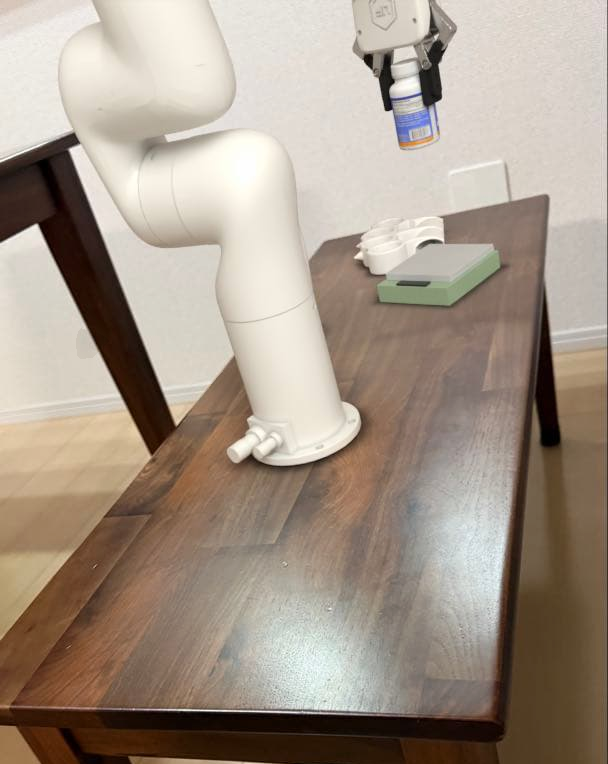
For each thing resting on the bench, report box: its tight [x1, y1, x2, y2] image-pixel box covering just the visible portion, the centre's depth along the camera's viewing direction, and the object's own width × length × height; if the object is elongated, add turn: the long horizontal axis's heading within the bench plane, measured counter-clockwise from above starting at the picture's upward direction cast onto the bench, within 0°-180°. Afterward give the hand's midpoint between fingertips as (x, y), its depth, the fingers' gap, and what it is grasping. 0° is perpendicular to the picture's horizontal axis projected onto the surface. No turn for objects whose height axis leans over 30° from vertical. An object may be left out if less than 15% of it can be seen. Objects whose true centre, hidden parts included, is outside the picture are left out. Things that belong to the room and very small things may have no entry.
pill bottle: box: [389, 56, 441, 151], centre depth 106 cm, size 5×5×10 cm
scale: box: [376, 243, 501, 307], centre depth 119 cm, size 13×12×4 cm
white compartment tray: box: [352, 215, 446, 276], centre depth 135 cm, size 3×18×15 cm
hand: (413, 104), depth 106 cm, fingers closed on pill bottle, 5 cm apart
